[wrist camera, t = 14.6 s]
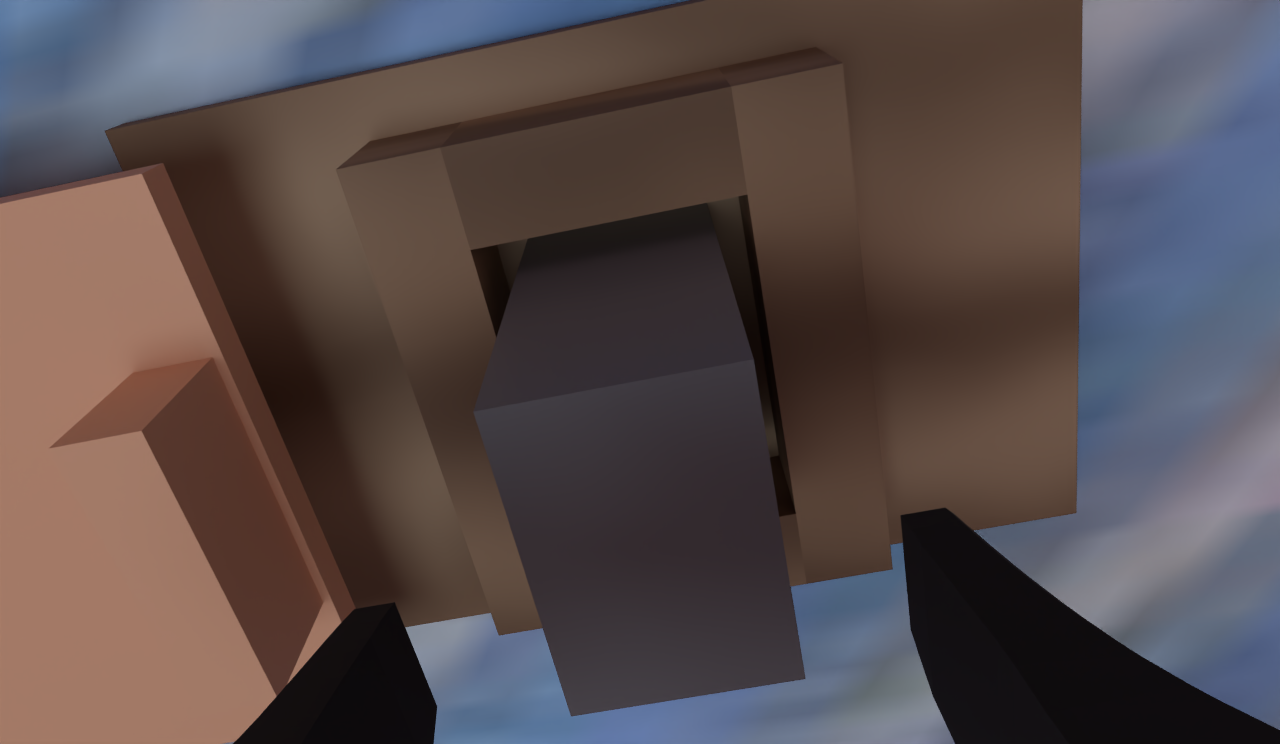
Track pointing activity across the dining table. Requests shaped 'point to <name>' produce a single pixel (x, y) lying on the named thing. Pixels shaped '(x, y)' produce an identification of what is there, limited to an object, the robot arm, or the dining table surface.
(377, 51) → the dining table surface
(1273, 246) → the dining table surface
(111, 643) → the panel
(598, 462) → the plug
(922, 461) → the socket
